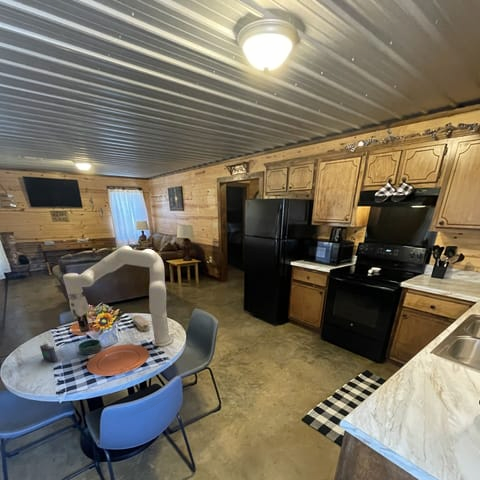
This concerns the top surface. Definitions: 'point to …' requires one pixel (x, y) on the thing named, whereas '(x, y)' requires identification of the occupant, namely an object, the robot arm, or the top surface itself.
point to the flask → (48, 353)
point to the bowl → (89, 347)
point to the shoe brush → (141, 323)
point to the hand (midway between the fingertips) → (83, 324)
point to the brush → (86, 327)
